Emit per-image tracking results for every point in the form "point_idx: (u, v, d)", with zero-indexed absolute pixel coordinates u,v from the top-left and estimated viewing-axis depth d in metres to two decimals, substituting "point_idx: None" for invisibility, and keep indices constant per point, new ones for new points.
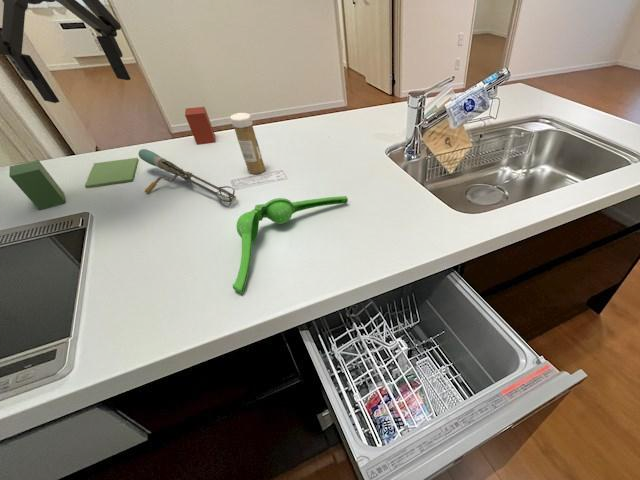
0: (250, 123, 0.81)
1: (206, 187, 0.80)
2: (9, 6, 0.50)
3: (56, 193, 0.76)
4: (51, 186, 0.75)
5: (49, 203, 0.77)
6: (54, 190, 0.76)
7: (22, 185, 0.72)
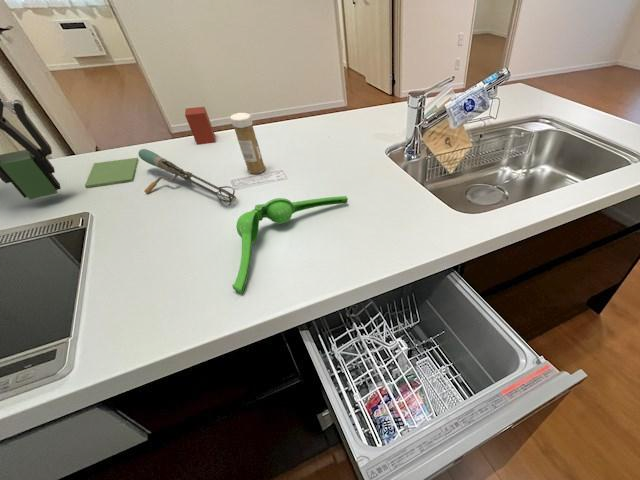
0: (250, 123, 0.81)
1: (206, 187, 0.80)
2: None
3: (48, 183, 0.75)
4: (42, 176, 0.74)
5: (40, 193, 0.75)
6: (46, 180, 0.74)
7: (12, 174, 0.71)
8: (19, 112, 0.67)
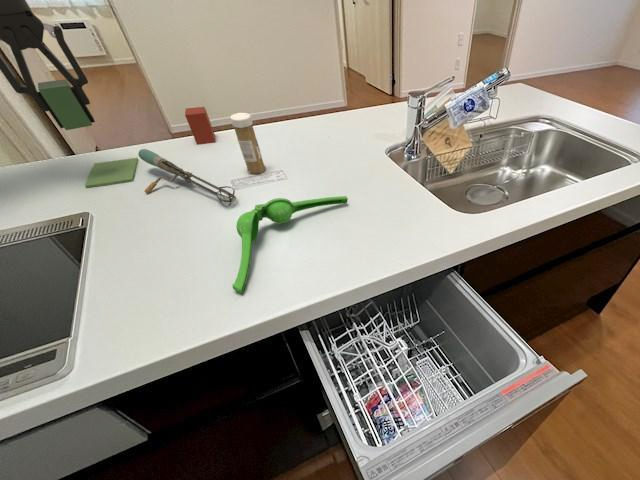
0: (250, 123, 0.81)
1: (206, 187, 0.80)
2: None
3: (83, 113, 0.76)
4: (79, 105, 0.75)
5: (76, 124, 0.76)
6: (81, 110, 0.75)
7: (50, 101, 0.72)
8: (58, 35, 0.68)
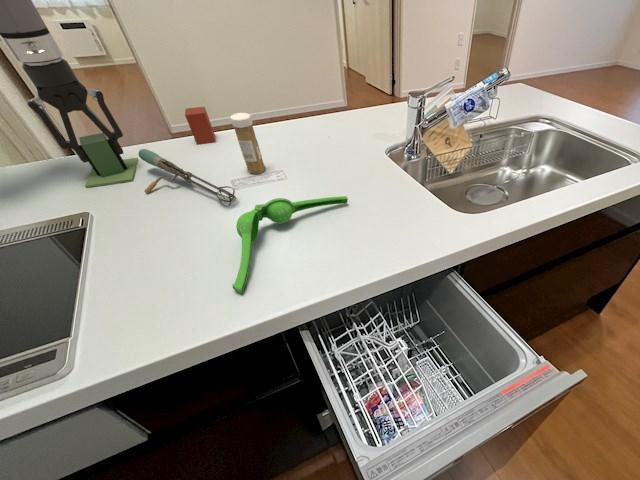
0: (250, 123, 0.81)
1: (206, 187, 0.80)
2: (61, 117, 0.76)
3: (118, 162, 0.85)
4: (114, 156, 0.84)
5: (111, 172, 0.85)
6: (116, 160, 0.84)
7: (90, 154, 0.81)
8: (100, 99, 0.77)
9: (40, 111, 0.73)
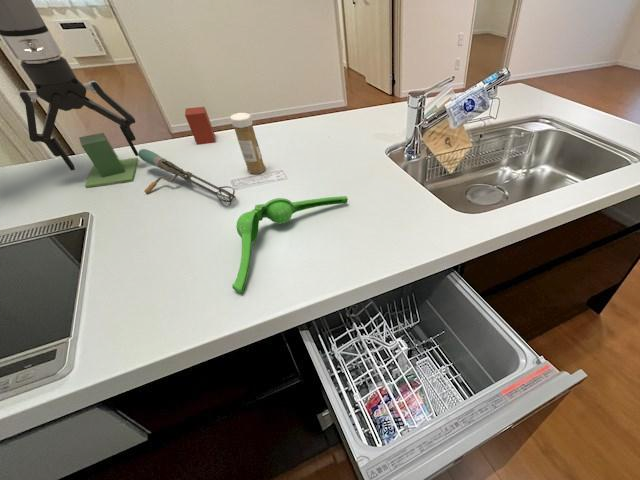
0: (250, 123, 0.81)
1: (206, 187, 0.80)
2: (48, 112, 0.74)
3: (118, 162, 0.85)
4: (114, 156, 0.84)
5: (111, 172, 0.85)
6: (116, 160, 0.84)
7: (91, 154, 0.81)
8: (98, 90, 0.76)
9: (29, 103, 0.71)
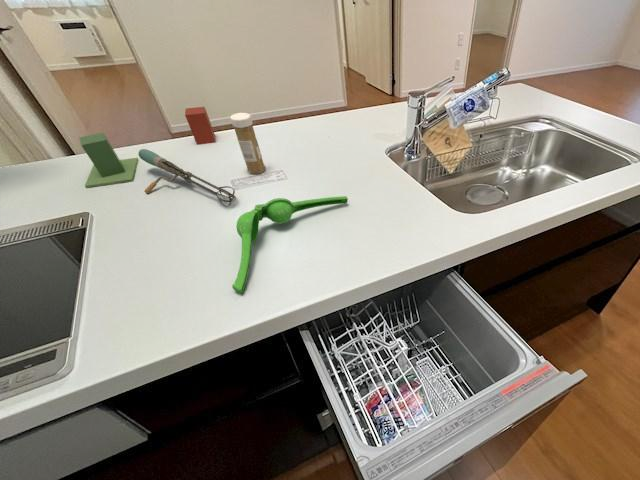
0: (250, 123, 0.81)
1: (206, 187, 0.80)
2: None
3: (118, 162, 0.85)
4: (114, 156, 0.84)
5: (111, 172, 0.85)
6: (116, 160, 0.84)
7: (91, 154, 0.81)
8: None
9: None
